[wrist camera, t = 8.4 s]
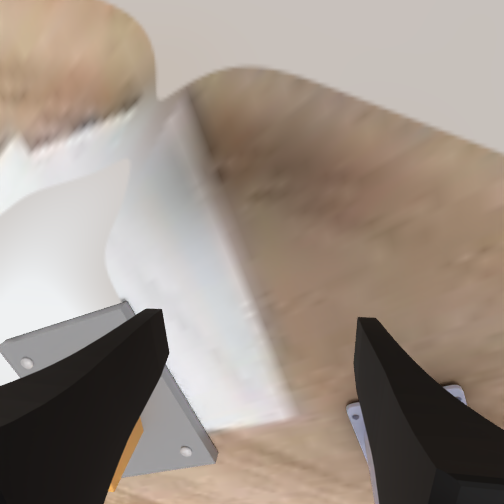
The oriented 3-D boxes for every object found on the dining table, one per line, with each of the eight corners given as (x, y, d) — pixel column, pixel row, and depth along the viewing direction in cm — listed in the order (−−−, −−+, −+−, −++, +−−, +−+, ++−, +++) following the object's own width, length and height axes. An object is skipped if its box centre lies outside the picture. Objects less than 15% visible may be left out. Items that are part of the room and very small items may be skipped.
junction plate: (218, 452, 31) (204, 507, 27) (107, 470, 34) (80, 521, 30) (127, 301, 26) (92, 340, 22) (6, 339, 29) (-44, 380, 25)
